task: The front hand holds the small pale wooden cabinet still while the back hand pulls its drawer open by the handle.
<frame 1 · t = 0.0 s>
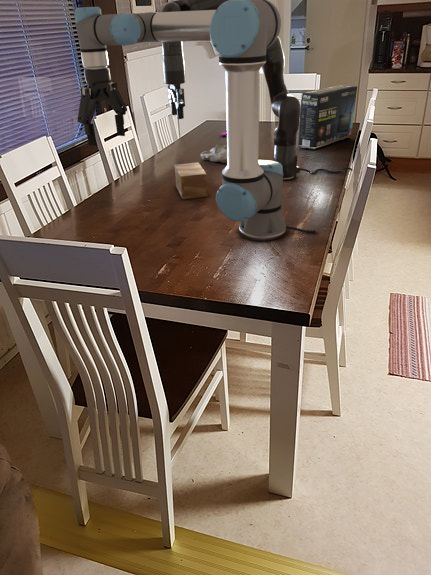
front hand: (107, 140, 148), 28 cm above the table, tool pointing down, fingers open, 13 cm apart
back hand: (177, 116, 170), 29 cm above the table, tool pointing down, fingers open, 8 cm apart
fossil: (218, 159, 225), on the table
drawer: (188, 176, 189), point 5 cm above the table, slide at 1.2 cm
handgun: (232, 138, 261), on the table
router box: (325, 143, 245), on the table
cabinet: (191, 191, 186), on the table
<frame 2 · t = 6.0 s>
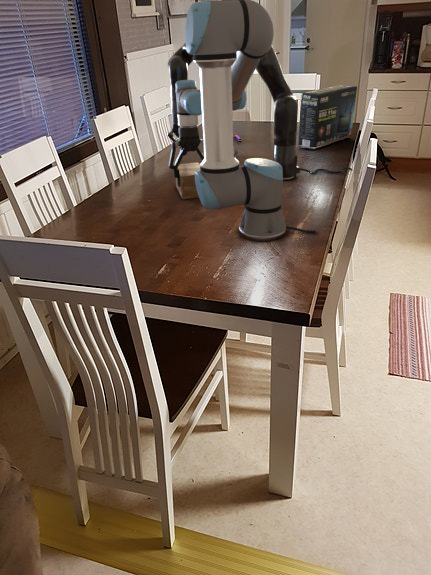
front hand: (192, 184, 181), 4 cm above the table, tool pointing down, fingers closed on cabinet, 10 cm apart
back hand: (183, 155, 192), 11 cm above the table, tool pointing down, fingers closed
cabinet: (191, 191, 186), on the table, touching front hand
everything else where it was.
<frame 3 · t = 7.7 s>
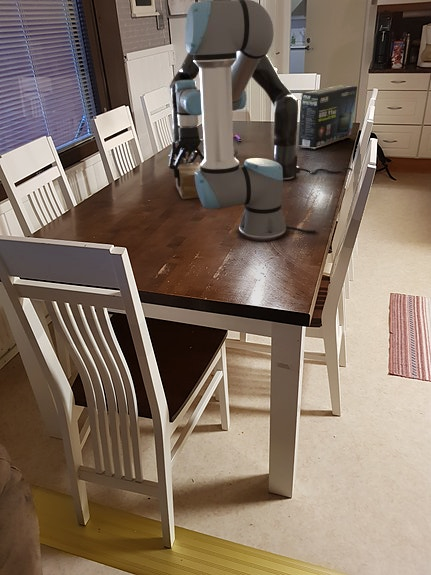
front hand: (192, 184, 181), 4 cm above the table, tool pointing down, fingers closed on cabinet, 10 cm apart
back hand: (184, 174, 196), 3 cm above the table, tool pointing down, fingers closed
drawer: (188, 176, 189), point 5 cm above the table, slide at 1.2 cm, touching back hand
cabinet: (191, 191, 186), on the table, touching front hand
everything else where it was.
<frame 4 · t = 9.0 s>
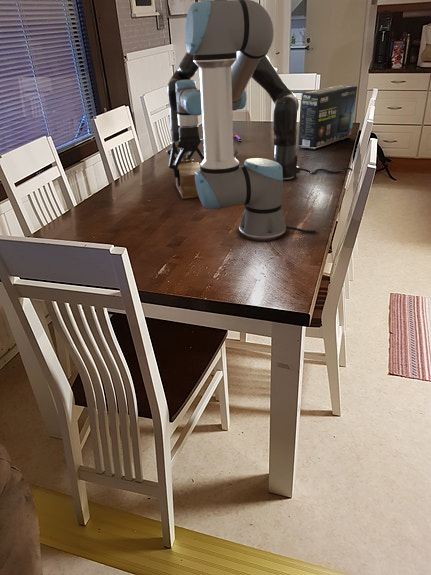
front hand: (192, 183, 182), 4 cm above the table, tool pointing down, fingers closed on cabinet, 10 cm apart
back hand: (182, 170, 201), 3 cm above the table, tool pointing down, fingers closed
drawer: (185, 171, 194), point 5 cm above the table, slide at 7.1 cm, touching back hand
cabinet: (191, 190, 187), on the table, touching front hand
everything else where it was.
when the front hand's fingers open (4 cm above the table, at t = 10.9 s): cabinet stays where it is, on the table.
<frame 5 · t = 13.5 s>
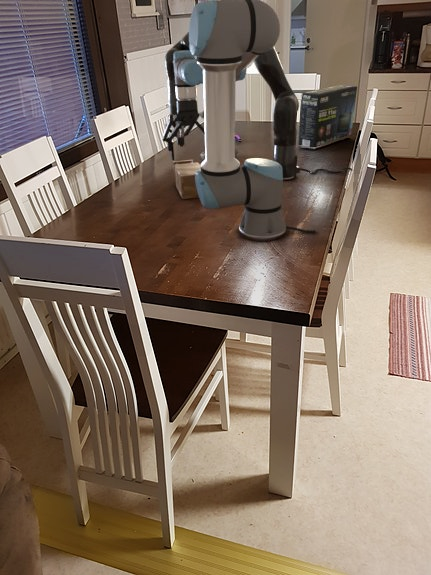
front hand: (190, 157, 176), 14 cm above the table, tool pointing down, fingers open, 13 cm apart
back hand: (181, 146, 196), 14 cm above the table, tool pointing down, fingers closed
drawer: (185, 172, 194), point 5 cm above the table, slide at 7.1 cm
cabinet: (191, 191, 187), on the table
everything else where it was.
at the end: drawer slide at 7.1 cm; cabinet tilted 0°; cabinet never tilted more than 1° during the clip; cabinet moved 0.1 cm from its start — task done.
